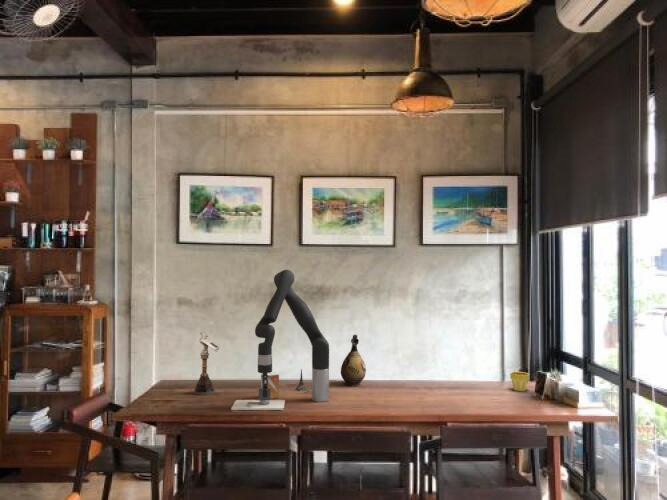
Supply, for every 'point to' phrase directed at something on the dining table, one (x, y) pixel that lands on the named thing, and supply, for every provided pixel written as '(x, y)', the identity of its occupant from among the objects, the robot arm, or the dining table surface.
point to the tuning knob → (263, 399)
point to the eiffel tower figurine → (302, 385)
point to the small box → (273, 384)
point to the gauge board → (258, 405)
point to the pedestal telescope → (205, 369)
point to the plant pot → (519, 380)
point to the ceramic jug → (353, 366)
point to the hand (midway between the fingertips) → (264, 396)
